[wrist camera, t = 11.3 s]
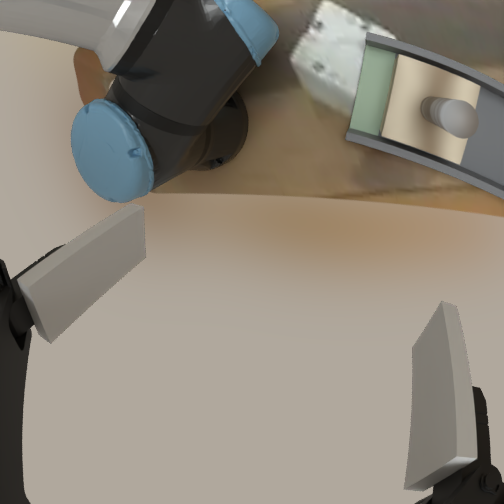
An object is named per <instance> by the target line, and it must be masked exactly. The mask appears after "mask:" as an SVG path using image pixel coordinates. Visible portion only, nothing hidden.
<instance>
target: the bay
mask: <svg viewBox="0 0 504 504" xmlns="http://www.w3.org/2000/svg"><path fill="white" fill-rule="evenodd" d="M399 54H400V55H403V56H406V57H410V58H413V59H415V60H418V61H421V62H424V63H427V64H430V65H432V66H435V67H437V68H440V69H443V70H445V71H448V72H450V73H452V74H455V75H457V76H460V77H462V78H464V79H466V80H469V81H471V82H473V83H475V84H477V85H479V86H480V91H479V95H478V100H477V104H476V109H475V110H476V112H477V115H478V119H479V124H478V128H477V131H476V132H475V134H474V135H472V136H471V137H469V138H468V140H467V143H466V146H465V150H464V153H463V156H462V160H461V163H460V165H459V164H456V163H454V162H451V161H449V160H447V159H444V158H442V157H439V156H437V155H434V154H431V153H429V152H426V151H423V150H421V149H418V148H415V147H412V146H410V145H407V144H404V143H401V142H398V141H395V140H392V139H389V138H386V137H383V136H381V132H380V126H381V121H382V117H383V113H384V109H385V104H386V100H387V95H388V90H389V86H390V81H391V76H392V71H393V66H394V60H395V59H396V58H397V56H398V55H399ZM345 140H348V141H352V142H355V143H359V144H362V145H365V146H368V147H372V148H375V149H378V150H381V151H384V152H387V153H390V154H393V155H396V156H399V157H402V158H405V159H408V160H411V161H414V162H416V163H419V164H422V165H424V166H427V167H430V168H432V169H435V170H438V171H440V172H443V173H445V174H448V175H450V176H453V177H455V178H457V179H460V180H462V181H465V182H467V183H469V184H471V185H474V186H476V187H478V188H480V189H483V190H485V191H487V192H489V193H491V194H493V195H496V196H498V197H500V198H502V199H504V84H502V83H500V82H498V81H496V80H495V79H493V78H491V77H489V76H487V75H485V74H483V73H480V72H478V71H476V70H474V69H472V68H470V67H467V66H465V65H463V64H461V63H458V62H456V61H454V60H451V59H449V58H446V57H444V56H441V55H439V54H436V53H433V52H431V51H428V50H425V49H422V48H419V47H417V46H414V45H411V44H408V43H404V42H401V41H398V40H395V39H391V38H388V37H384V36H381V35H377V34H373V33H369V32H367V34H366V48H365V54H364V59H363V64H362V70H361V75H360V80H359V85H358V90H357V95H356V100H355V105H354V109H353V114H352V118H351V123H350V127H349V129H348V131H347V134H346V139H345Z"/></svg>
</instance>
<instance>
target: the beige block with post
mask: <svg viewBox="0 0 504 504" xmlns="http://www.w3.org/2000/svg"><path fill="white" fill-rule="evenodd" d="M479 91H480V86H479V85H477V84H475V83H473V82H471V81H469V80H466V79H464V78H462V77H460V76H457V75H455V74H452V73H450V72H448V71H445V70H443V69H440V68H437V67H435V66H432V65H430V64H427V63H424V62H421V61H418V60H415V59H413V58H410V57H406V56H403V55H400V54H399V55H398V56H397V58H396V59H395V60H394V66H393V71H392V76H391V81H390V86H389V90H388V95H387V100H386V104H385V109H384V113H383V117H382V121H381V126H380V132H381V136H383V137H386V138H389V139H392V140H395V141H398V142H401V143H404V144H407V145H410V146H412V147H415V148H418V149H421V150H423V151H426V152H429V153H431V154H434V155H437V156H439V157H442V158H444V159H447V160H449V161H451V162H454V163H456V164H459V165H460V163H461V160H462V156H463V153H464V150H465V146H466V143H467V140H468V138H469V137H471V136H472V135H474V134H475V132H476V131H477V128H478V124H479V119H478V115H477V112H476V110H475V109H476V104H477V100H478V95H479Z"/></svg>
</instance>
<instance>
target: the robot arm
mask: <svg viewBox="0 0 504 504" xmlns="http://www.w3.org/2000/svg"><path fill="white" fill-rule="evenodd" d="M0 30H1V31H7V32H13V33H19V34H24V35H30V36H35V37H40V38H44V39H49V40H54V41H58V42H62V43H66V44H70V45H74V46H78V47H82V48H85V49H89V50H92V51H94V52H95V53H96V54H97V55H98V57H99V60H100V62H101V65H102V67H103V70H104V71H106V72H109V73H113V74H116V75H117V76H116V78H115V80H114V82H113V84H112V86H111V87H110V90H109V92H108V94H107V95H106V97H105V98H104V99H95V100H93V101H92V102H90V103H89V104H87V105H85V106H84V107H83V108H81V109H80V111H79V112H78V113H77V115H76V117H75V119H74V122H73V125H72V130H71V147H72V153H73V156H74V159H75V163H76V166H77V168H78V170H79V172H80V174H81V176H82V178H83V179H84V181H85V182H86V183H87V185H88V186H89V187H90V188H91V189H92V190H93V191H94V192H95V193H96V194H97V195H99V196H100V197H102V198H104V199H106V200H108V201H111V202H119V203H124V202H129V201H131V200H133V199H136V198H138V197H142V196H144V195H147V194H148V192H150V191H151V190H153V189H155V188H156V187H158V186H160V185H162V184H163V183H165V182H167V181H169V180H171V179H172V178H174V177H176V176H178V175H180V174H181V173H183V172H185V171H187V170H197V171H205V170H211V169H214V168H217V167H219V166H221V165H223V164H225V163H227V162H228V161H230V160H231V159H232V158H234V157H235V156H236V155H237V153H238V152H239V151H240V149H241V148H242V146H243V144H244V142H245V139H246V136H247V131H248V116H247V111H246V107H245V105H244V102H243V100H242V99H241V97H240V95H239V94H238V93H237V92H236V90H237V89H238V88H239V86H240V85H241V84H242V83H243V81H244V80H245V79H246V78H247V77H248V75H249V74H250V73H251V72H252V71H253V70H254V68H255V67H256V66H257V67H259V66H260V65H261V60H262V59H263V58H264V56H265V55H266V54H267V53H268V52H269V50H270V49H271V48H272V47H273V45H274V44H275V43H276V41H277V39H278V37H279V29H278V26H277V24H276V23H275V21H274V20H273V19H272V18H271V17H270V16H269V15H268V14H267V13H266V12H265V11H264V10H263V9H262V8H261V7H260V6H258V5H257V4H256V3H255V2H254V1H253V0H0ZM145 249H146V248H145V228H144V207H143V206H140V205H136V204H133V203H130V204H128V205H127V206H125V207H123V208H122V209H120V210H118V211H117V212H115V213H114V214H112V215H110V216H109V217H107V218H105V219H104V220H102V221H101V222H99V223H97V224H96V225H94V226H93V227H91V228H90V229H88V230H87V231H85V232H83V233H82V234H81V235H79V236H77V237H76V238H75V239H73V240H71V241H70V242H68V243H67V244H64V245H62V246H59V247H56V248H54V249H53V250H51V251H50V252H48V253H47V254H46V255H45V256H43V257H41V258H40V259H38V261H35V262H34V263H33V264H31V265H30V266H29V267H27V268H26V269H24V270H23V271H22V272H20V273H19V274H18V275H16V276H15V277H14V278H12V279H11V280H10V277H9V274H8V271H7V268H6V265H5V263H4V261H3V260H1V259H0V504H30V502H29V500H28V499H27V498H26V495H25V492H24V482H23V463H22V424H23V404H24V403H23V402H24V389H25V380H26V371H27V363H28V355H29V348H30V343H31V337H32V333H31V329H30V328H31V327H32V326H33V325H35V327H36V329H37V331H38V334H39V335H40V336H41V337H42V338H44V339H45V340H47V341H48V342H49V343H50V344H51V343H52V342H53V341H54V340H55V339H56V338H57V337H58V336H59V335H60V334H62V333H63V332H64V331H65V330H66V329H67V328H68V327H69V326H70V325H71V324H72V323H73V322H74V321H75V320H76V319H77V318H78V317H79V316H81V315H82V314H83V313H84V312H85V311H86V310H87V309H88V308H89V307H90V306H91V305H93V304H94V303H95V302H96V301H97V300H98V299H99V298H100V297H101V296H102V295H104V294H105V293H106V292H107V291H108V290H109V289H110V288H111V287H113V286H114V285H115V284H116V283H117V282H118V281H119V280H120V279H122V277H124V276H125V275H126V274H127V273H128V272H130V271H131V270H132V269H133V268H134V267H135V266H137V265H138V264H139V263H140V262H141V261H142V260H144V259H145V258H146V250H145ZM412 358H413V359H412V363H413V377H412V413H411V429H410V441H409V452H408V461H407V470H406V477H405V484H404V489H405V490H414V491H425V490H426V489H428V488H430V487H432V486H434V487H433V494H432V495H430V496H428V497H426V498H424V499H422V500H420V501H418V502H417V503H415V504H421V503H422V504H504V483H503V482H502V477H501V474H500V472H499V470H498V469H497V468H496V467H495V466H493V465H491V457H490V456H491V454H490V437H489V426H488V416H487V406H486V400H485V398H484V396H483V393H482V391H481V389H480V388H478V387H474V386H472V382H471V375H470V368H469V362H468V357H467V351H466V345H465V340H464V335H463V331H462V326H461V322H460V318H459V313H458V309H457V306H455V305H453V304H449V303H446V302H444V301H441V303H440V304H439V306H438V308H437V310H436V311H435V313H434V315H433V317H432V318H431V319H430V321H429V323H428V324H427V326H426V327H425V329H424V331H423V332H422V334H421V336H420V337H419V338H418V340H417V341H416V343H415V344H414V346H413V348H412Z"/></svg>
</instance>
